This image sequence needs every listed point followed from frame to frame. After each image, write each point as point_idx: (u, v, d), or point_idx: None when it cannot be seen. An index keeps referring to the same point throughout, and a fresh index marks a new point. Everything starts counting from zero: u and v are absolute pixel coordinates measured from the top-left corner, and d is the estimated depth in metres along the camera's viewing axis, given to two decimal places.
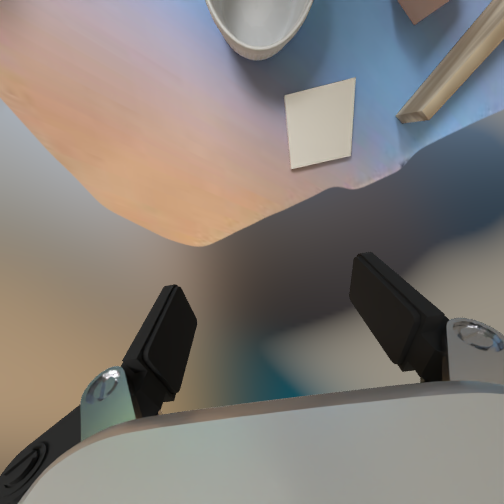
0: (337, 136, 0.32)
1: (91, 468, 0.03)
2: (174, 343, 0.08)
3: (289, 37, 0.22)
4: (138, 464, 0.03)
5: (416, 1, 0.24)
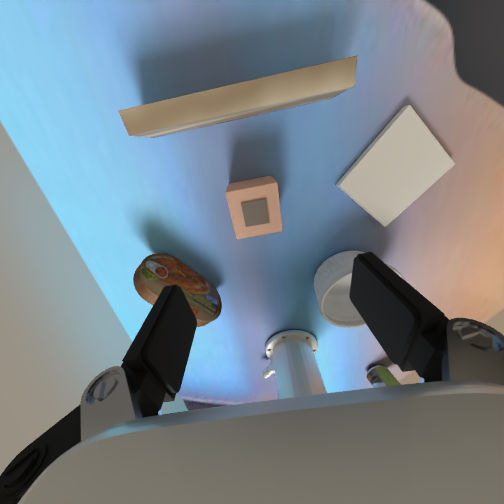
0: (395, 147, 0.24)
1: (91, 468, 0.03)
2: (174, 343, 0.08)
3: None
4: (138, 464, 0.03)
5: None
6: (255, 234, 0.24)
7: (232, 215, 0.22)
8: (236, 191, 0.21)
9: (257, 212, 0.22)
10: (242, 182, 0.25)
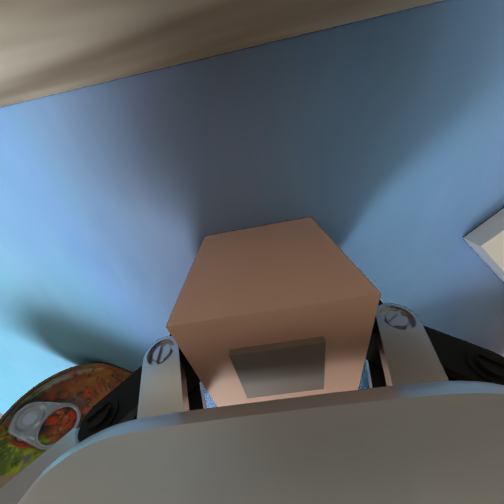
0: None
1: (91, 468, 0.03)
2: None
3: None
4: (138, 464, 0.03)
5: None
6: None
7: (201, 374, 0.07)
8: (210, 322, 0.05)
9: (288, 371, 0.06)
10: (237, 242, 0.09)
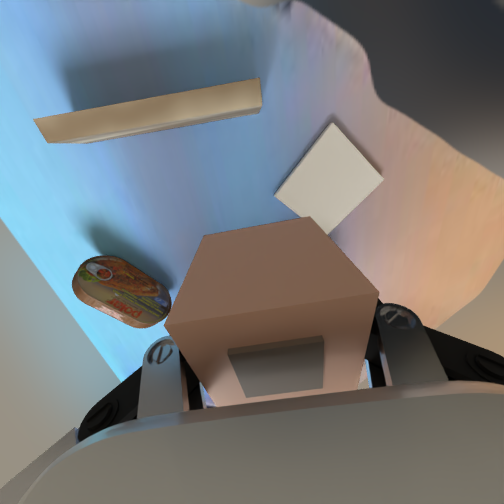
0: (324, 162, 0.25)
1: (92, 468, 0.03)
2: None
3: None
4: (138, 464, 0.03)
5: None
6: None
7: (200, 373, 0.07)
8: (208, 320, 0.05)
9: (286, 370, 0.06)
10: (236, 241, 0.09)
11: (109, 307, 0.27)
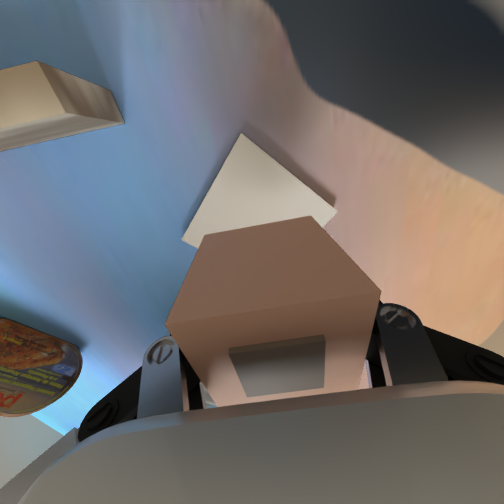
0: (242, 191, 0.16)
1: (91, 469, 0.03)
2: None
3: None
4: (138, 464, 0.03)
5: None
6: None
7: (200, 373, 0.07)
8: (209, 320, 0.05)
9: (288, 369, 0.06)
10: (237, 240, 0.09)
11: None
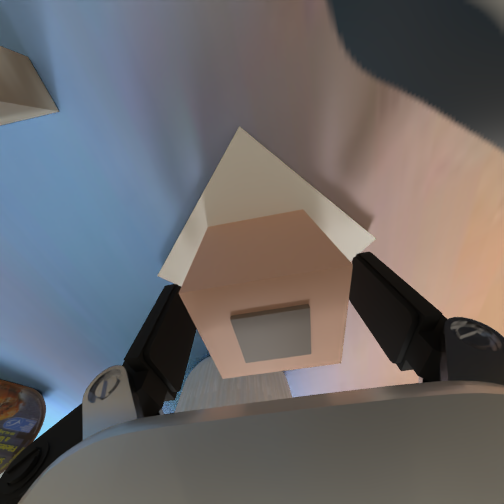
0: (241, 212, 0.11)
1: (91, 469, 0.03)
2: (175, 342, 0.08)
3: None
4: (138, 464, 0.03)
5: None
6: (270, 370, 0.09)
7: (206, 340, 0.08)
8: (215, 289, 0.06)
9: (280, 335, 0.07)
10: (237, 231, 0.10)
11: None
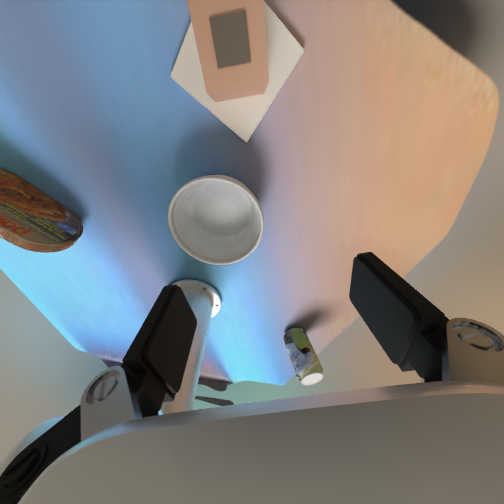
0: None
1: (91, 468, 0.03)
2: (174, 343, 0.08)
3: (224, 179, 0.22)
4: (138, 464, 0.03)
5: None
6: (231, 85, 0.17)
7: (198, 43, 0.16)
8: None
9: (233, 37, 0.16)
10: None
11: None
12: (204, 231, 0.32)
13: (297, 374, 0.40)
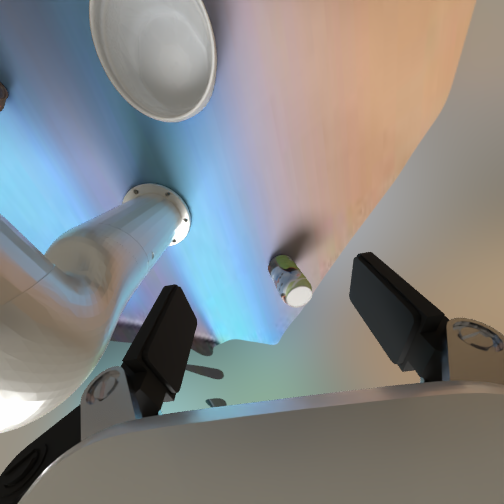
0: None
1: (91, 469, 0.03)
2: (174, 343, 0.08)
3: None
4: (138, 464, 0.03)
5: None
6: None
7: None
8: None
9: None
10: None
11: None
12: (156, 99, 0.27)
13: (281, 293, 0.34)
